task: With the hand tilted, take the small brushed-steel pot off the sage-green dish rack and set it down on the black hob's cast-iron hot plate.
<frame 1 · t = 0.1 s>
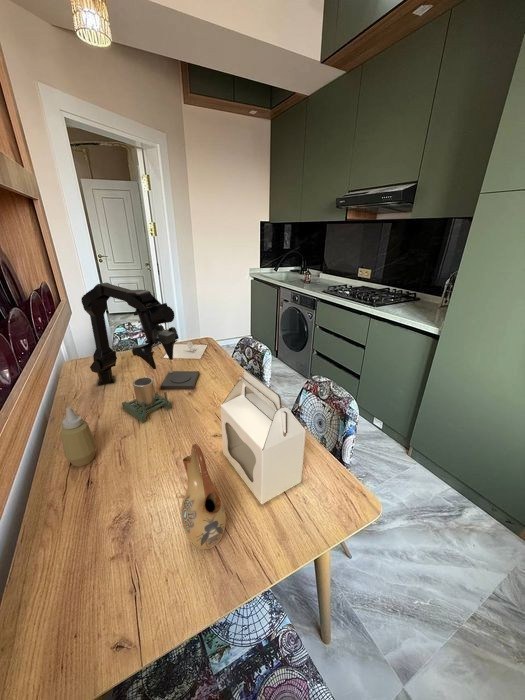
hand: (163, 364, 111), 15 cm above the table, tool pointing down, fingers open, 9 cm apart
hob: (181, 381, 130), on the table
steel pot: (146, 402, 109), point 2 cm above the table, touching dish rack
teacup and saucer: (186, 351, 162), on the table
squeeze bottle: (83, 460, 86), on the table
ceramic vessel: (205, 535, 65), on the table
gable box: (259, 467, 84), on the table
dish rack: (147, 408, 110), on the table
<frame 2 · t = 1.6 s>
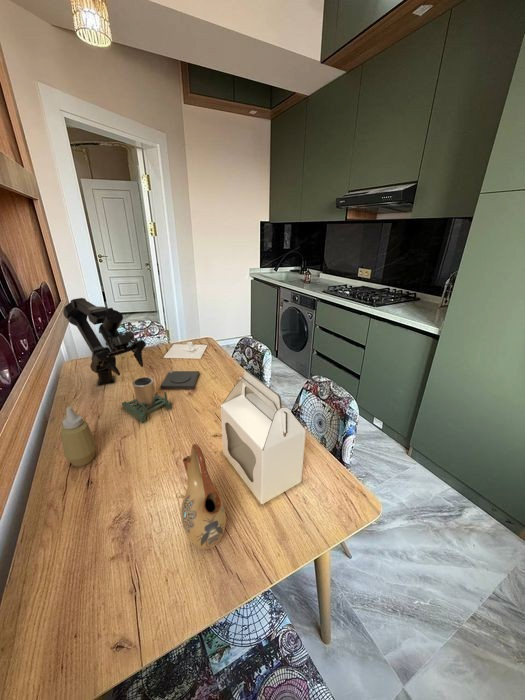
hand: (131, 370, 110), 13 cm above the table, tool tilted 45°, fingers open, 9 cm apart
nothing on the table moved.
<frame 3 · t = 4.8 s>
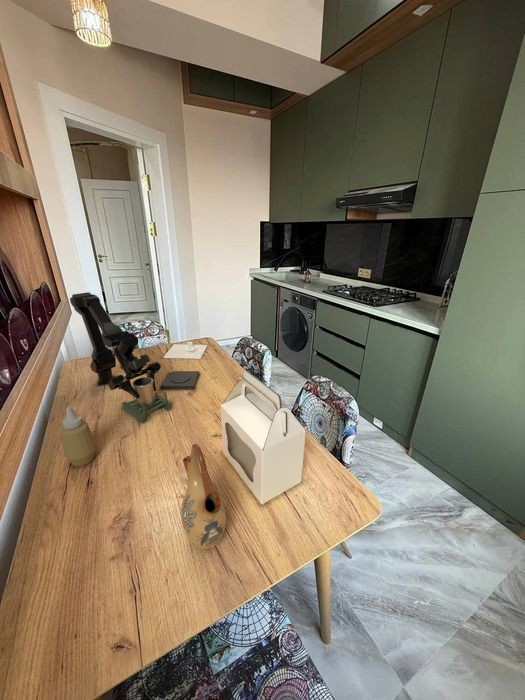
hand: (147, 394, 107), 7 cm above the table, tool tilted 45°, fingers closed on steel pot, 6 cm apart
steel pot: (146, 402, 109), point 3 cm above the table, touching dish rack, gripper
everything else where it was.
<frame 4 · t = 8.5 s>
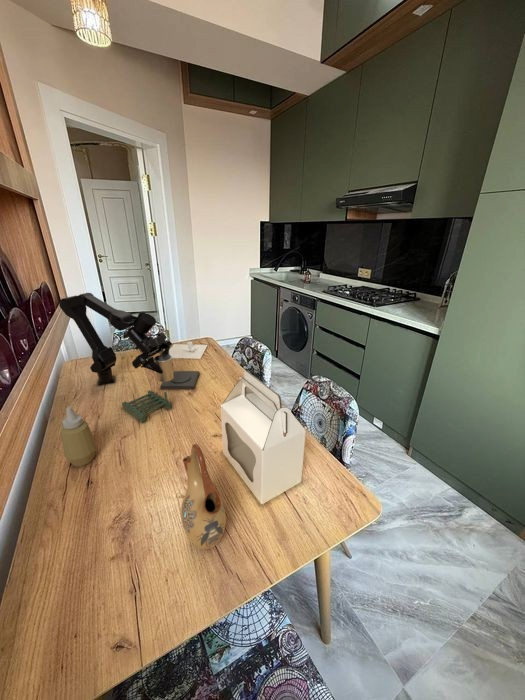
hand: (167, 369, 116), 11 cm above the table, tool tilted 45°, fingers closed on steel pot, 6 cm apart
steel pot: (165, 377, 118), point 7 cm above the table, touching gripper
everything else where it was.
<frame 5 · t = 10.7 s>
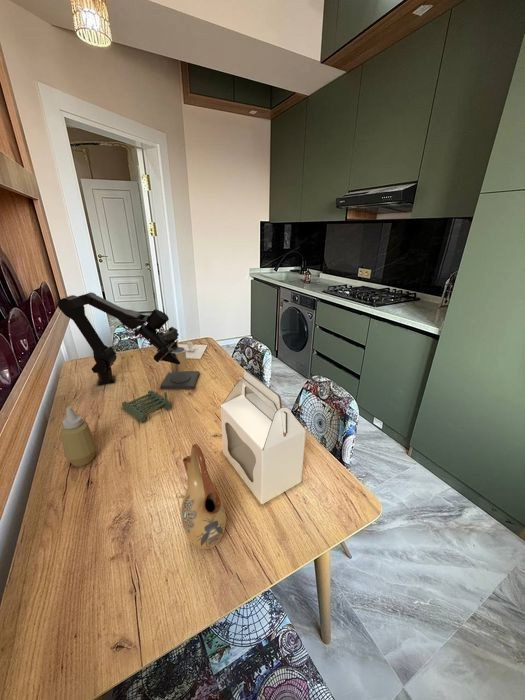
hand: (181, 360, 126), 10 cm above the table, tool tilted 45°, fingers closed on steel pot, 6 cm apart
steel pot: (179, 368, 128), point 6 cm above the table, touching gripper
everything else where it was.
when the fingers open (6 cm above the table, at t = 12.5 s): steel pot stays where it is, resting on hob.
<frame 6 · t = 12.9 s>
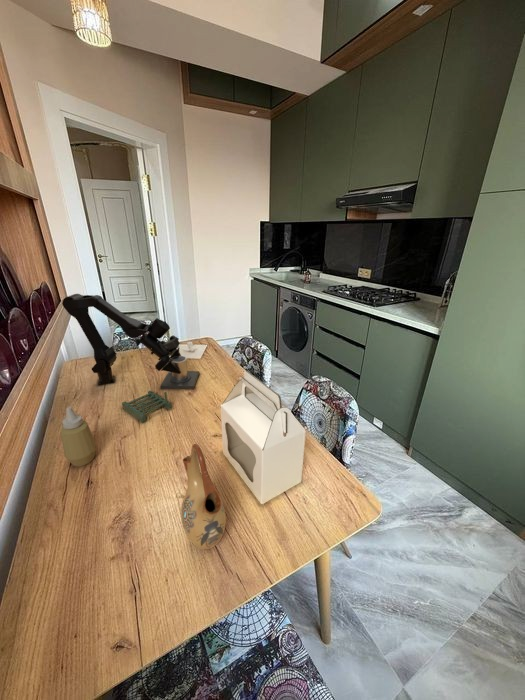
hand: (182, 368, 128), 6 cm above the table, tool tilted 45°, fingers open, 9 cm apart
steel pot: (180, 377, 129), point 2 cm above the table, touching hob
everything else where it was.
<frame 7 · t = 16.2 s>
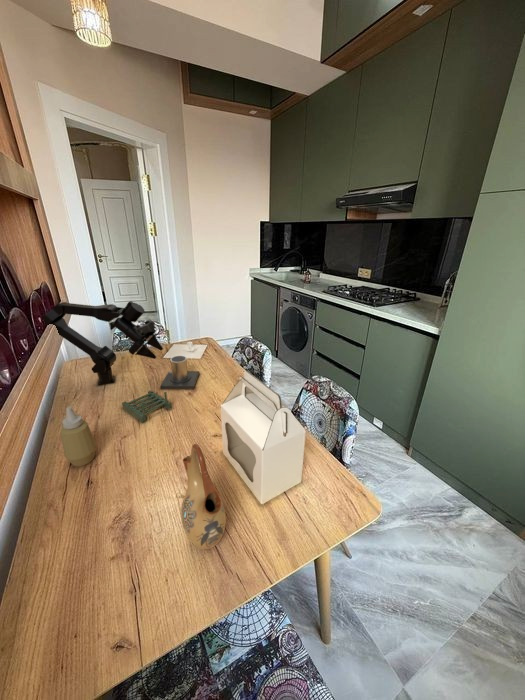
hand: (159, 353, 125), 14 cm above the table, tool tilted 45°, fingers open, 9 cm apart
nothing on the table moved.
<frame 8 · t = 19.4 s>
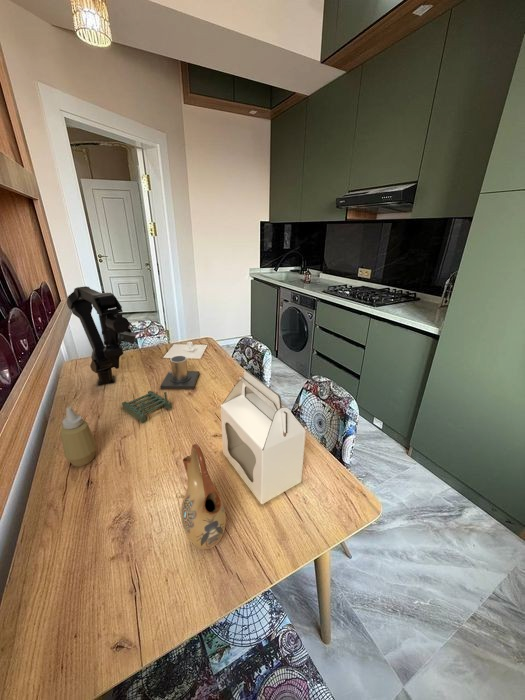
hand: (117, 363, 116), 13 cm above the table, tool pointing down, fingers open, 9 cm apart
nothing on the table moved.
at the end: steel pot inside the target area on the hob (0.1 cm from its centre), point 2.0 cm above the hob's base; steel pot tilted 0°; the gripper is holding nothing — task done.
